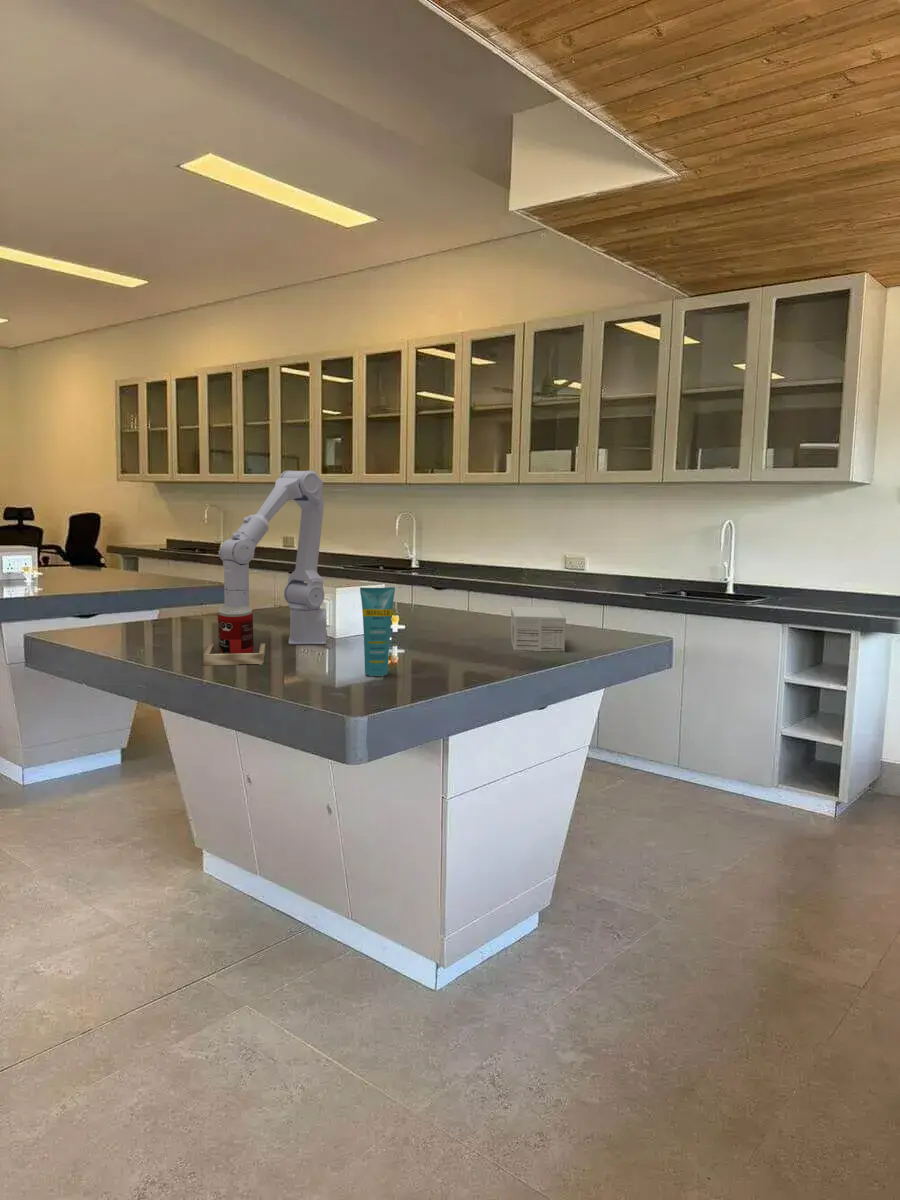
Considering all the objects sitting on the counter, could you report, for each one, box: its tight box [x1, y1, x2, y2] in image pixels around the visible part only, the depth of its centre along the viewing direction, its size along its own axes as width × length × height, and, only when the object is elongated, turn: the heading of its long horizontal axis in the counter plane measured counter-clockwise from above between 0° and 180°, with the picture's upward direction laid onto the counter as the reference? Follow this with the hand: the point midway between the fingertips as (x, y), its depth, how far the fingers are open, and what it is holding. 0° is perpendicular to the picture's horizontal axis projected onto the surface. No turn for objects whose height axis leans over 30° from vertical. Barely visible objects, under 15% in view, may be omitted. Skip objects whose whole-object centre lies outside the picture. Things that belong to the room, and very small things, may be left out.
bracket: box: [203, 643, 266, 666], centre depth 198 cm, size 13×13×2 cm
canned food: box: [217, 605, 255, 654], centre depth 200 cm, size 8×8×11 cm
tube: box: [359, 586, 396, 677], centre depth 183 cm, size 7×5×19 cm, turn 106°
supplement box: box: [510, 606, 567, 651], centre depth 222 cm, size 17×13×9 cm
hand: (237, 645), depth 205 cm, fingers closed, pressing on canned food
